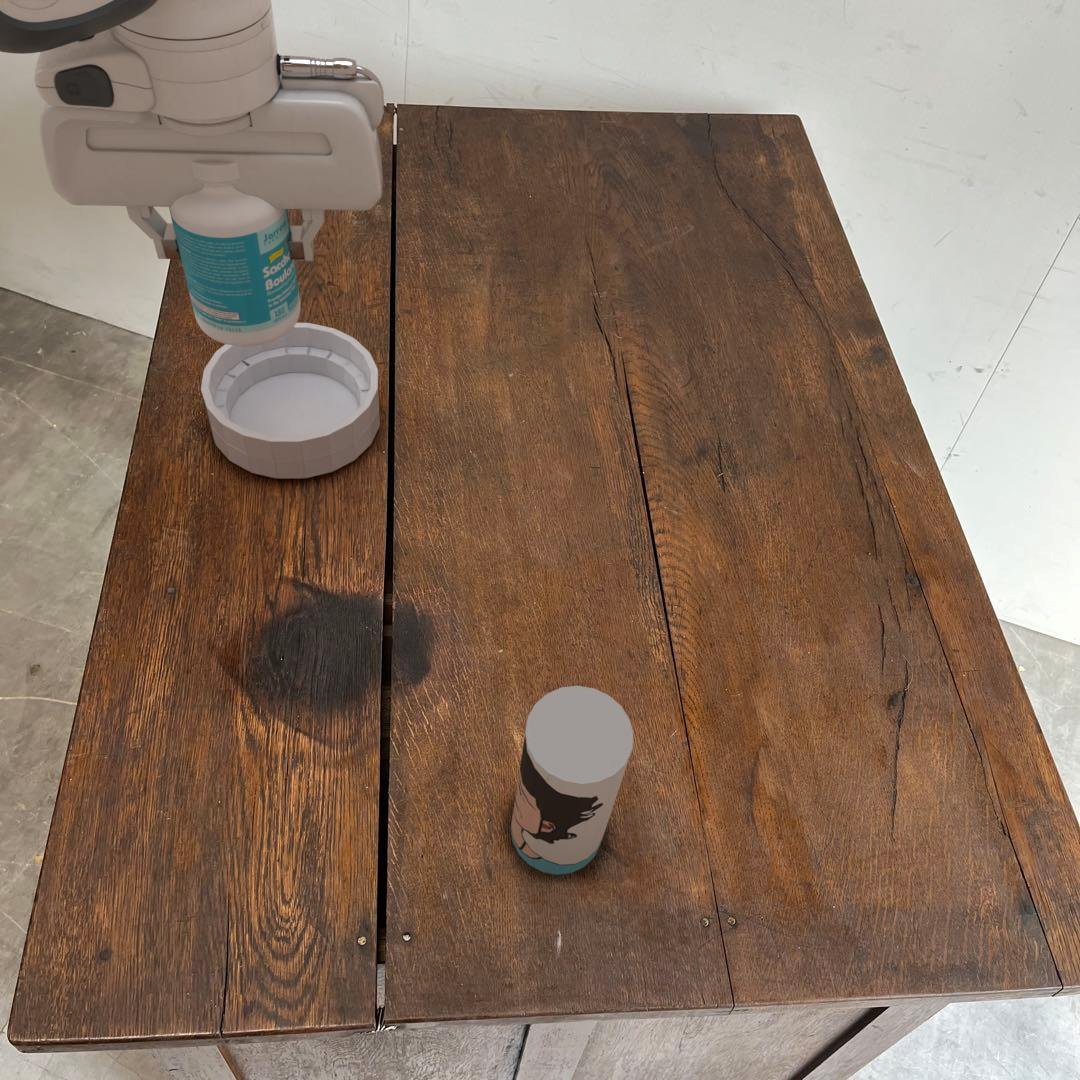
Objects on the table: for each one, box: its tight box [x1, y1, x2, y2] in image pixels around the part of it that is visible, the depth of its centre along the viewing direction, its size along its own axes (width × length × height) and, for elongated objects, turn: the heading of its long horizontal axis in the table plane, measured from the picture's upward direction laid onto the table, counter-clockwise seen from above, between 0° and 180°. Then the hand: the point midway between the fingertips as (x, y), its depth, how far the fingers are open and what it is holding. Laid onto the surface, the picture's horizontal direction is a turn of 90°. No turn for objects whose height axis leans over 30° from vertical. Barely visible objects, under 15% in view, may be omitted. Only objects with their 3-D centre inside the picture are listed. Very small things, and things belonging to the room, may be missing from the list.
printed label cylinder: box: [510, 685, 634, 876], centre depth 70 cm, size 7×7×15 cm
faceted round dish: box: [200, 322, 381, 480], centre depth 96 cm, size 16×16×6 cm
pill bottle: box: [168, 161, 302, 346], centre depth 69 cm, size 8×7×14 cm
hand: (237, 254), depth 70 cm, fingers closed on pill bottle, 7 cm apart
